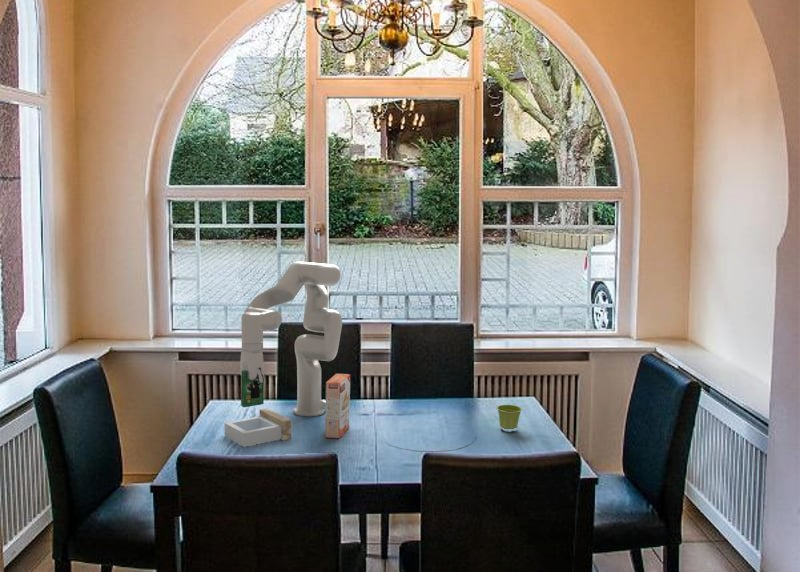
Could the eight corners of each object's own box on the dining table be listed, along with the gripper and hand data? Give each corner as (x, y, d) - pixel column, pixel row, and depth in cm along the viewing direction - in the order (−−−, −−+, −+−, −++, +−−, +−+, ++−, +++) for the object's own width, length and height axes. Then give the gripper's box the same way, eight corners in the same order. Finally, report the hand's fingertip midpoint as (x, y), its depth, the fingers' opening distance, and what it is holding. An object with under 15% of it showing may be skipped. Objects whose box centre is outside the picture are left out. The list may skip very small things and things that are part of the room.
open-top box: (261, 428, 303) (261, 415, 303) (281, 439, 292) (281, 425, 291) (224, 436, 294) (224, 422, 293) (244, 447, 282) (243, 433, 282)
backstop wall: (266, 426, 306) (266, 408, 305) (291, 438, 292) (291, 420, 291) (259, 427, 304) (259, 409, 303) (284, 440, 290) (283, 421, 289)
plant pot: (524, 428, 308) (525, 406, 307) (516, 435, 300) (517, 413, 299) (500, 425, 312) (501, 403, 311) (492, 432, 304) (493, 409, 302)
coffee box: (260, 402, 295) (260, 367, 293) (264, 404, 292) (264, 368, 291) (240, 406, 290) (240, 370, 288) (244, 408, 287) (244, 371, 286)
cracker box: (340, 439, 293) (340, 383, 290) (324, 438, 294) (324, 381, 291) (350, 427, 306) (351, 373, 303) (335, 426, 307) (335, 372, 304)
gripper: (232, 344, 292) (232, 393, 295) (253, 352, 280) (254, 403, 282) (251, 341, 297) (251, 390, 299) (273, 349, 284) (273, 400, 287)
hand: (252, 396), depth 291 cm, fingers closed on coffee box, 3 cm apart
